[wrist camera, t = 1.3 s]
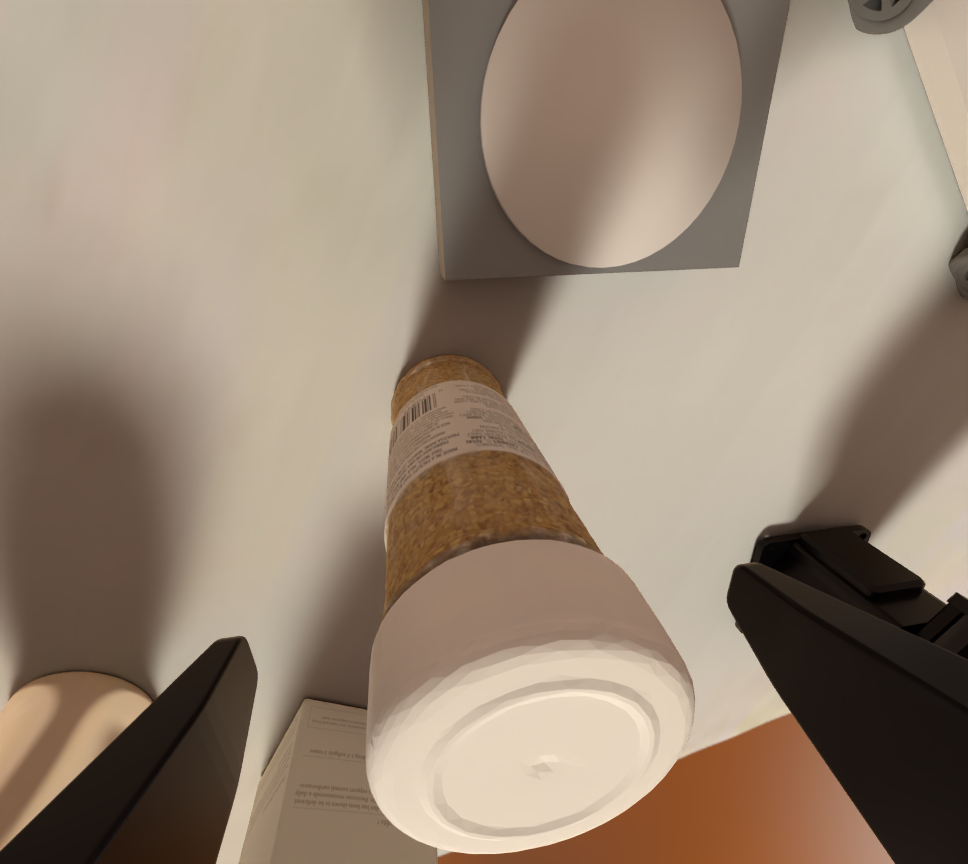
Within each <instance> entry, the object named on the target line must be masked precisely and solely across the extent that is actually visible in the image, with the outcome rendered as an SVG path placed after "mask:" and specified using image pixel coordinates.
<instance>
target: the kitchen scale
mask: <svg viewBox="0 0 968 864" xmlns="http://www.w3.org/2000/svg"><path fill="white" fill-rule="evenodd" d="M422 4H423V19H424V35H425V50H426V65H427V81H428V96H429V112H430V127H431V143H432V158H433V174H434V189H435V205H436V220H437V236H438V251H439V267H440V275H441V276H442V277H443V278H444V280H466V279H488V278H510V277H532V276H554V275H576V274H598V273H620V272H642V271H664V270H686V269H708V268H730V267H739V263H740V258H741V253H742V248H743V243H744V238H745V232H746V227H747V222H748V217H749V212H750V207H751V201H752V196H753V191H754V186H755V181H756V176H757V170H758V165H759V160H760V155H761V150H762V145H763V139H764V134H765V129H766V124H767V119H768V114H769V108H770V103H771V98H772V93H773V88H774V83H775V77H776V72H777V67H778V62H779V57H780V52H781V46H782V41H783V36H784V31H785V26H786V20H787V15H788V10H789V5H790V0H422Z"/></svg>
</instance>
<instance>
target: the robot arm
mask: <svg viewBox="0 0 968 864" xmlns="http://www.w3.org/2000/svg"><path fill="white" fill-rule="evenodd" d="M870 535H871V532H870V531H869V530H868V529H866V528H865V527H863V526H862V525H855V526H848V527H841V528H834V529H826V530H819V531H812V532H805V533H798V534H790V535H783V536H776V537H769V538H765V539H763V540H761V541H760V542H759V543H758V544H757V547H756V550H755V554H754V557H753V561H752V563H746V564H740V565H737V566H736V567H735V568H734V570H733V573H732V577H731V581H730V585H729V589H728V593H727V603H728V607H729V609H730V611H731V613H732V615H733V617H734V618H735V620H736V623H735V626H736V627H737V629H738V630H739V631H740V632H741V633H743V634H744V636H745V638H746V640H747V641H748V643H749V645H750V647H751V648H752V650H753V652H754V654H755V655H756V657H757V659H758V661H759V662H760V664H761V666H762V668H763V669H764V671H765V673H766V675H767V676H768V678H769V680H770V681H771V683H772V685H773V686H774V688H775V689H776V691H777V692H778V694H779V695H780V697H781V698H782V700H783V701H784V703H785V704H786V706H787V707H788V709H789V710H790V712H791V713H792V715H793V716H794V717H795V719H796V720H797V722H798V723H799V725H800V726H801V728H802V729H803V730H804V732H805V733H806V735H807V736H808V738H809V739H810V741H811V742H812V744H813V745H814V746H815V748H816V749H817V751H818V752H819V754H820V755H821V757H822V758H823V759H824V761H825V763H826V764H827V765H828V767H829V768H830V770H831V771H832V773H833V774H834V776H835V777H836V778H837V780H838V781H839V782H840V784H841V786H842V787H843V789H844V790H845V792H846V793H847V795H848V796H849V797H850V799H851V800H852V802H853V803H854V805H855V806H856V807H857V809H858V810H859V812H860V813H861V815H862V816H863V818H864V819H865V821H866V822H867V824H868V825H869V826H870V828H871V829H872V831H873V832H874V834H875V835H876V837H877V838H878V840H879V841H880V842H881V844H882V845H883V847H884V848H885V849H886V851H887V853H888V854H889V856H890V857H891V859H892V860H893V861H894V863H895V864H968V599H967V598H966V597H964V596H962V595H961V594H959V593H957V592H956V593H955V594H954V595H952V596H951V597H950V598H949V599H948V600H947V602H949V603H948V604H945V603H944V602H942V601H941V600H939V599H938V598H936V597H935V596H934V595H932V594H931V593H929V592H928V591H926V590H925V589H924V587H925V582H924V581H923V580H922V579H921V578H920V577H919V576H917V575H916V574H914V573H913V572H911V571H910V570H908V569H907V568H905V567H904V566H902V565H901V564H899V563H898V562H896V561H895V560H893V559H892V558H890V557H889V556H887V555H886V554H884V553H883V552H881V551H880V550H878V549H877V548H875V547H874V546H872V545H871V544H869V543H868V540H869V538H870ZM257 680H258V673H257V668H256V665H255V662H254V659H253V656H252V653H251V650H250V647H249V644H248V641H247V639H246V638H245V637H243V636H236V637H229V638H222V639H219V640H217V641H215V642H214V643H213V644H212V645H211V646H210V647H209V648H208V649H207V650H206V651H205V652H204V653H203V654H202V655H200V656H199V657H198V658H197V659H196V660H195V661H194V662H193V663H192V664H191V665H190V666H189V667H188V668H187V669H186V670H185V671H184V672H183V673H182V674H181V675H180V676H179V677H178V678H177V679H176V680H175V681H174V682H173V683H172V684H171V685H170V686H169V687H168V688H167V689H166V690H165V691H164V692H163V693H161V694H160V695H159V696H158V697H157V698H156V699H155V700H154V701H153V702H152V703H151V704H150V705H149V706H148V707H147V708H146V709H145V710H144V711H143V712H142V713H141V714H140V715H139V716H138V717H137V718H136V719H135V720H134V721H133V722H132V723H131V724H130V725H129V726H128V727H127V728H126V729H125V730H124V731H123V732H121V733H120V734H119V735H118V736H117V737H116V738H115V739H114V740H113V741H112V742H111V743H110V744H109V745H108V746H107V747H106V748H105V749H104V750H103V751H102V752H101V753H100V754H99V755H98V756H97V757H96V758H95V759H94V760H93V761H92V762H91V763H90V764H89V765H88V766H87V767H86V768H85V769H84V770H82V771H81V772H80V773H79V774H78V775H77V776H76V777H75V778H74V779H73V780H72V781H71V782H70V783H69V784H68V785H67V786H66V787H65V788H64V789H63V790H62V791H61V792H60V793H59V794H58V795H57V796H56V797H55V798H54V799H53V800H52V801H51V802H50V803H49V804H48V805H47V806H46V807H45V808H44V809H42V810H41V811H40V812H39V813H38V814H37V815H36V816H35V817H34V818H33V819H32V820H31V821H30V822H29V823H28V824H27V825H26V826H25V827H24V828H23V829H22V830H21V831H20V832H19V833H18V834H17V835H16V836H15V837H14V838H13V839H12V840H11V841H10V842H9V843H8V844H7V845H6V846H5V847H3V848H2V849H1V850H0V864H216V861H217V857H218V854H219V850H220V847H221V844H222V840H223V837H224V833H225V830H226V826H227V823H228V819H229V816H230V812H231V809H232V806H233V802H234V798H235V794H236V791H237V787H238V782H239V777H240V773H241V768H242V763H243V757H244V752H245V746H246V741H247V736H248V730H249V725H250V720H251V714H252V709H253V704H254V698H255V693H256V688H257Z"/></svg>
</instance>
